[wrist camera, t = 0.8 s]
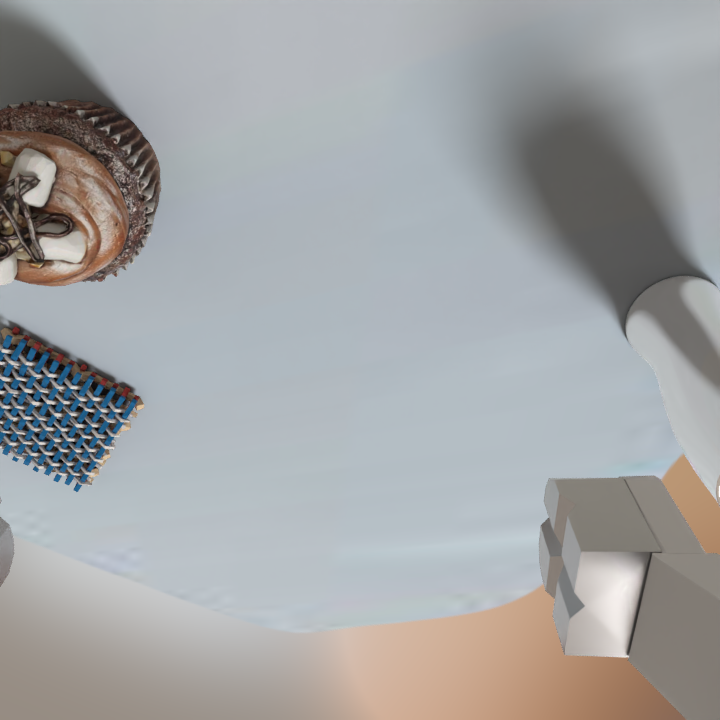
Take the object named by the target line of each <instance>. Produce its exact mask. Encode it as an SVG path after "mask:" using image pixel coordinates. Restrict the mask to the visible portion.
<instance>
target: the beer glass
mask: <svg viewBox="0 0 720 720" xmlns="http://www.w3.org/2000/svg"><path fill="white" fill-rule="evenodd" d="M625 330H626V336H627V339H628V341H629V343H630V345H631V346H632V348H633V349H634V350H635V351H636V352H637V353H638V354H639V355H640V356H641V357H642V358H643V359H644V360H645V361H647V362H648V363H649V364H650V365H651V367H652V368H653V370H654V372H655V374H656V377H657V381H658V384H659V388H660V392H661V396H662V400H663V403H664V407H665V410H666V414H667V417H668V420H669V422H670V425H671V428H672V431H673V433H674V435H675V437H676V439H677V441H678V443H679V445H680V447H681V449H682V451H683V453H684V454H685V456H686V458H687V459H688V461H689V462H690V464H691V466H692V467H693V469H694V470H695V472H696V473H697V475H698V476H699V478H700V479H701V480H702V482H703V483H704V485H705V486H706V487H707V488H708V490H709V491H710V493H711V494H712V495H713V496H714V498H715V500H716V501H717V502H718V504H719V506H720V290H719V289H718V288H717V287H716V286H715V285H714V284H712V283H711V282H709V281H707V280H705V279H703V278H700V277H696V276H675V277H671V278H667V279H664V280H662V281H659V282H657V283H655V284H654V285H652V286H650V287H649V288H648V289H646V290H645V291H644V292H643V293H641V294H640V295H639V296H638V298H637V299H636V300H635V301H634V303H633V304H632V306H631V307H630V309H629V312H628V314H627V317H626V323H625Z"/></svg>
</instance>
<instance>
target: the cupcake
mask: <svg viewBox="0 0 720 720" xmlns="http://www.w3.org/2000/svg"><path fill="white" fill-rule="evenodd" d="M93 122H94V123H93ZM160 191H161V182H160V167H159V163H158V160H157V157H156V155H155V152H154V150H153V149H152V147H151V145H150V143H149V142H148V141H146V140H145V139H144V138H143V135H142V133H141V132H140V131H139V130H138V129H137V127H136V126H135V124H134V123H132V122H131V121H130V120H129V119H127V118H125V117H123V116H122V115H120V114H119V113H118V112H116V111H115V110H114V109H112V108H109V107H102V106H100V105H98V104H96V103H94V102H92V101H91V102H80V101H78V100H67V101H63V102H50V101H47V102H45V101H37V100H35V102H23V103H21V104H20V105H17V104H9V105H8V107H7V108H4V109H2V110H0V285H6V284H8V283H11V282H13V280H14V279H15V280H19V281H22V282H26V283H29V284H36V285H45V286H65V285H69V284H72V283H76V282H79V281H83V282H86V281H91V282H93V281H96V280H98V281H99V282H100V281H103V280H105V279H106V277H107V276H108V275H110V274H113V275H114V276H116V277H117V275H118V274H119V269H120V268H121V267H122V269H124V270H127V267H128V263H129V262H130V263H131V264H133V263H134V260H135V256H137V255H139V254H140V252H141V249H142V248H143V247H144V246H145V244H146V240H147V237H148V236H149V235H150V234H151V231H152V226H153V221H154V216H155V212H156V209H157V206H158V202H159V194H160Z"/></svg>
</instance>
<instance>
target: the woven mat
mask: <svg viewBox="0 0 720 720" xmlns="http://www.w3.org/2000/svg"><path fill="white" fill-rule="evenodd" d="M19 332H20V329H19V328H17V327H14V329H13V331H12V330H11V329H9V328H4V329H2V330H1V334H2V336H3V339H4V342H3V344H2V345H1V344H0V366H1V365H2V366H3V367H5V370H4V369H2V368H1V367H0V448H2V449H4V450H3V454H5V455H8V453H10V452H11V453H12V454H13V455H14V457H13V459H12V460H14V461H16V462H17V461H18V459H19V458H20V459H25V461H24V463H23V464H25V465H29V463H30V462H32V463H33V464H34V465H35V467H34V469H33V470H34V471H36V472H38V470H39V469H44V468H46V471H45V473H44V474H46V475H48V476H49V474H50V473H51V472H57V475H56V476H55V478H54V481H56V482H58V481H59V480H60V478H61V476H62V475H65V476H67V479H66V481H65V484H67V485H69V484H70V483H71V482H72V480H73V479H75V480H76V481H77V484H76V486H75V488H74V491H76V492H78V491H79V489H80V488H81V486H82V485H88V486H89V485H92V483H90V482H92V481H93V478H91V477H95V476H97V475H99V471H98V468H99V469H101V468H102V467H103V466H102V465H104V464H105V462H106V460H105V459H108V458H111V457H110V454H109V450H108V449H112V450H113V449H115V445H114V443H115V442H116V441H115V440H114V437H119V436H120V435H119V434H120V432H121V431H126V430H128V429H130V428H131V426H130V421H129V420H126V419H127V417H128V416H131V417H135V418H136V416H137V413H135V412H134V411H132V410H133V408H134V407H135V408H136V410H140V409H143V408H144V404H143V402H142V400H141V398H140V397H139V396H137V395H134V394H132V393H130V389H129V388H127V387H125V389H123V388H121V387H119V384H117V383H112V382H110V381H108V380H107V379H106V378H103V377H101V376H99V375H97V374H96V373H95V372H91V371H85V370H86V368H87V366H86V365H84V364H83V365H82V366H81V368H79V366H78V365H77V363H75V362H74V361H72V360H69V359H67V358H66V357H64V356H65V355H63V354H61V353H60V354H58V353H56V352H54V351H53V349H51V348H47V347H45V346H43V345H42V343H40V342H38V341H37V342H36V341H34V340H32V339H30V337H29V336H27V335H18V334H19ZM12 344H14V345H18V346H17V347H14V346H12ZM26 346H28V347H29V348H31V349H30V351H29V353H28V355H27V354H26V352H24V349H25V347H26ZM37 352H39V353H41V354H42V357H41V359H40V360H35V358H36V354H37ZM7 353H9V354H12V356H11V358H10V357H9V355H8V354H7ZM49 358H50V359H52V360H54V361H53V363H52V365H49V364H47V363H46V362H47V360H48V359H49ZM60 364H61V365H63V366H65V368H64V370H63V372H62V371H60V370H58V367H59V365H60ZM33 369H34V370H33ZM15 370H17V371H19V374H17V372H16V371H15ZM42 370H43V372H44V373H45V374H40V373H41V371H42ZM69 373H71V375H72V377H71V376H69V375H68V374H69ZM12 374H13V375H14V376H11V375H12ZM25 375H26V376H28V377H30V378H27V377H25ZM53 378H58V380H57V382H56V381H55V380H54V379H53ZM36 381H38V382H40V383H41V386H40V385H39V384H38V383H37V382H36ZM81 381H86V382H85V384H84V383H83V382H81ZM64 382H65V383H66V384H67V385H68V386H65V385H63V383H64ZM92 382H95V383H96V384H98V387H97V388H96V390H95V392H94V391H93V389H92V387H90V385H91V384H92ZM9 385H11V386H9ZM19 386H20V387H21V388H22V389H23V391H21V390H18V388H19ZM103 388H106V389H108V390H109V392H108V394H107V395H100V393H101V391H102V390H103ZM75 389H77V390H80V392H79V394H78V392H77V391H76V390H75ZM29 393H35V395H34V397H33V398H32V397H31V396H30V395H29ZM114 393H115V394H117V395H119V396H120V397H119V398H118V400H117V401H116V400H114V399H112V397H113V395H114ZM84 395H85V397H84ZM14 397H16V398H18V401H17V402H16V400H15V399H14ZM41 397H42V398H43V400H44V401H45V402H39V401H40V399H41ZM69 398H70V399H72V400H68V399H69ZM125 399H126V400H128V401H130V404H129V405H128V407H126V406H124V405H123V404H122V403H123V402H124V400H125ZM51 404H53V405H57V407H56V409H55V408H53V407H52V406H51ZM70 404H72V406H70ZM100 404H101V405H100ZM107 405H109V406H110V408H111V409H109V408H106V406H107ZM78 406H80V407H82V408H84V409H83V410H78V409H76V408H77V407H78ZM7 409H13V410H12V411H11V413H10V412H9V411H8V410H7ZM61 411H62V412H63V413H62V412H61ZM88 412H92V413H94V415H92V414H90V413H88ZM118 412H121V413H123V414H122V415H121V416H120V414H119V413H118ZM18 413H19V414H20V415H21V416H22V417H21V416H18ZM46 413H47V414H49V415H51V417H45V414H46ZM99 417H103V418H104V419H105V420H104V421H103V420H101V419H99ZM56 419H59V420H61V421H62V422H61V424H59V423H58V422H57V421H56ZM76 419H77V420H76ZM84 419H85V420H86V421H87V422H88V423H89V424H84V423H82V422H83V420H84ZM30 420H34V422H33V423H32V422H30ZM109 423H111V425H110V424H109ZM67 424H69V425H71V426H73V427H72V428H71V427H65V426H66V425H67ZM24 427H25V428H27V429H29V431H23V428H24ZM94 427H100V428H99V430H98V431H96V430H95V428H94ZM105 430H106V431H107V432H108V434H109V435H102V433H103V432H104V431H105ZM7 433H9V434H12V436H11V437H10V436H8V435H7ZM34 433H37V434H39V437H38V438H37V437H36V436H35V435H34ZM61 434H62V435H63V437H64V438H62V437H60V435H61ZM45 438H47V439H49V440H50V441H44V439H45ZM71 441H73V442H77V443H76V444H75V445H74V444H73V443H72V442H71ZM2 442H4V443H6V444H7V445H1V444H2ZM81 445H83V446H84V447H85V448H86V449H83V448H80V447H81ZM109 445H110V446H109ZM13 447H16V448H18V450H17V452H16V451H15V450H14V449H13ZM39 448H40V450H41V451H42V452H43V453H42V452H40V451H38V449H39ZM23 452H26V453H28V454H29V455H28V456H27V455H22V453H23ZM92 452H97V453H96V455H95V454H93V453H92ZM49 455H53V456H54V458H53V460H52V459H51V458H50V456H49ZM33 457H36V458H38V459H39V460H38V462H37V461H36V460H35V459H34V458H33ZM101 457H102V458H101ZM60 458H61V459H62V460H63V461H64V463H58V460H59V459H60ZM86 462H87V463H90V464H89V465H87V464H86ZM42 464H44V465H42ZM71 465H75V466H74V468H72V467H70V466H71ZM95 466H96V467H98V468H96V469H93V468H94V467H95Z"/></svg>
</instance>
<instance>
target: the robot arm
mask: <svg viewBox="0 0 720 720" xmlns="http://www.w3.org/2000/svg"><path fill="white" fill-rule="evenodd" d="M1 502H2V500H1V498H0V503H1ZM544 503H545V507H546V510H547V513H548V516H549V518H548V519H547V520H546V521H545V522H544V523H543V524H542V525H541V527H540V538H539V563H540V569H541V575H542V579H543V583H544V587H545V591H546V592H547V593H549V594H550V595H551V596H552V597H554V598H555V603H554V610H553V618H554V621H555V625H556V629H557V632H558V635H559V639H560V642H561V645H562V648H563V652H564V655H579V656H606V657H629V658H628V661H629V662H630V663H631V664H632V665H633V666H634V667H635V668H636V669H637V670H638V671H639V672H640V673H641V674H642V675H643V676H644V677H645V678H646V679H647V680H648V681H649V682H650V683H651V684H652V685H653V686H654V687H655V688H656V689H657V690H658V691H659V692H660V693H661V694H662V695H663V696H664V697H665V698H666V699H667V700H668V701H669V702H670V703H671V704H672V705H673V706H674V707H675V708H676V709H677V710H678V711H679V712H680V714H681V715H683V716H684V718H686V719H687V720H720V555H719V554H717V553H705V551H704V549H703V548H702V546H701V545H700V543H699V541H698V540H697V538H696V536H695V535H694V533H693V532H692V530H691V528H690V527H689V525H688V523H687V522H686V520H685V518H684V517H683V515H682V514H681V512H680V510H679V509H678V507H677V506H676V504H675V502H674V501H673V499H672V497H671V496H670V494H669V492H668V491H667V489H666V488H665V486H664V484H663V483H662V481H661V479H659V478H657V477H656V476H626V477H619V478H549V479H548V482H547V485H546V489H545V496H544ZM13 542H14V541H13V535H12V532H11V528H10V525H9V524H8V523H7V522H5V521H4V520H3V519H2V518H1V517H0V587H1V585H2V584H3V582H4V580H5V579H6V577H7V576H8V574H9V571H10V567H11V564H12V560H13V555H14V543H13Z"/></svg>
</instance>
